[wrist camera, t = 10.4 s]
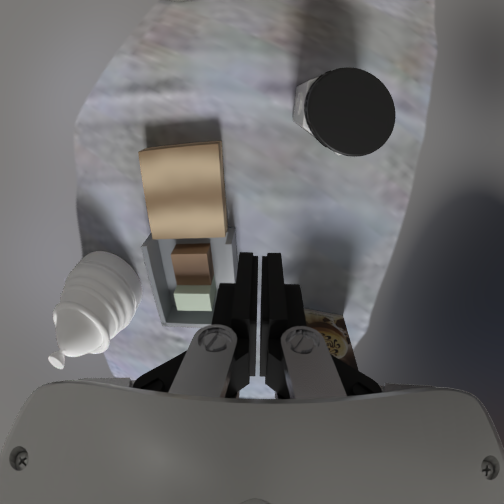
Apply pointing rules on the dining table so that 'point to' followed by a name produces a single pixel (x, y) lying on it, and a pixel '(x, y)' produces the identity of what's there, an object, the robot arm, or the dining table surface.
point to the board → (185, 190)
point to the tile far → (195, 297)
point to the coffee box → (332, 334)
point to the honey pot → (94, 305)
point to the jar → (346, 111)
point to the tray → (165, 282)
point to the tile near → (193, 264)
